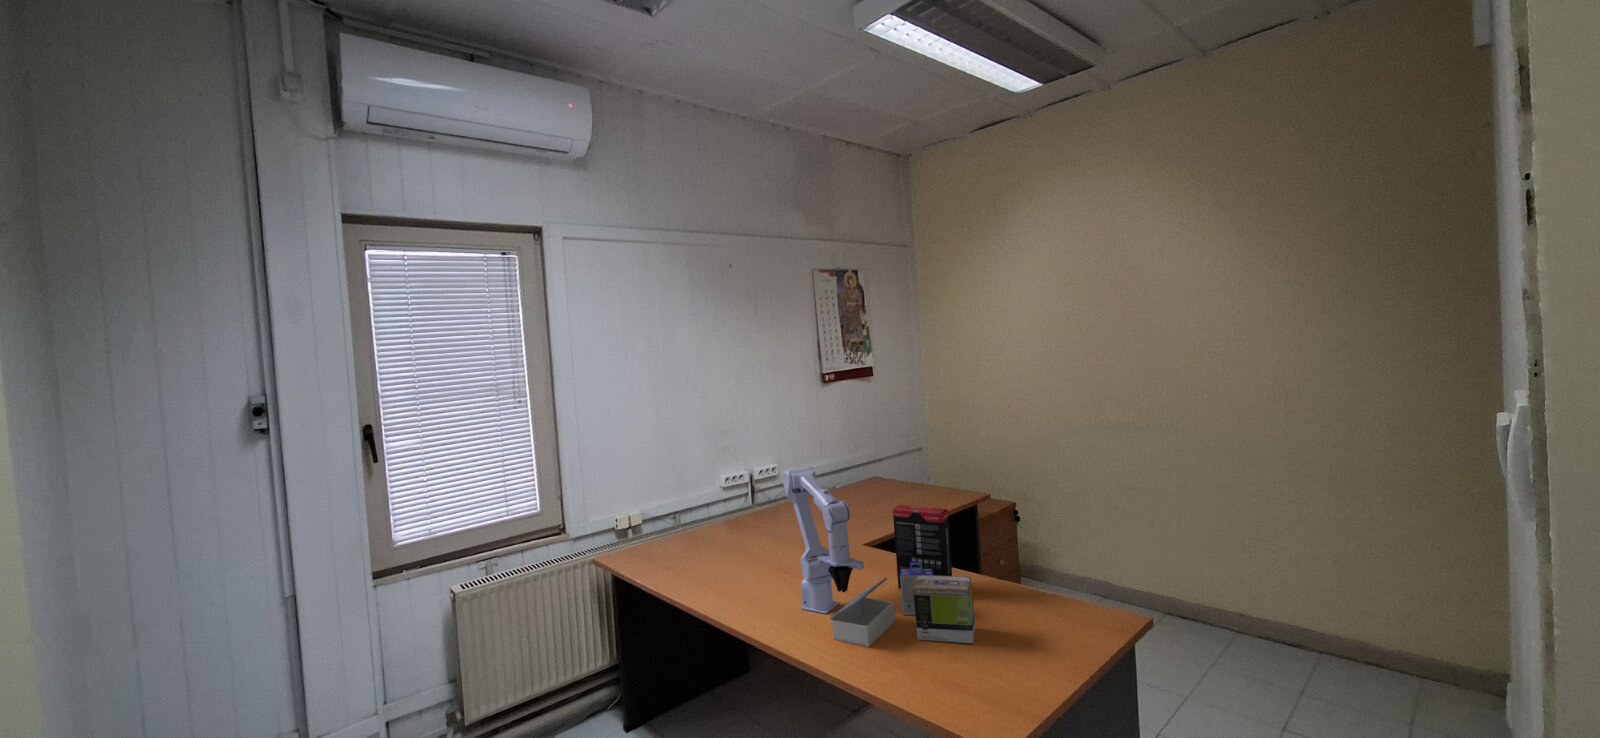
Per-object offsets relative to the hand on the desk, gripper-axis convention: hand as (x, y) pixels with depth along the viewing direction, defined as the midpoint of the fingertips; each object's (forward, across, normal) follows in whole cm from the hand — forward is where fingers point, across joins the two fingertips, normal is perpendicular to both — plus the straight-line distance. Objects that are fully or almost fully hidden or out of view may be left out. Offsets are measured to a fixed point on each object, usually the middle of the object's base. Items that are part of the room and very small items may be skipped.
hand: (842, 590), depth 175 cm
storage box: (+10, +6, 0) cm, 12 cm away
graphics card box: (+11, +12, +32) cm, 36 cm away
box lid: (+2, +6, 0) cm, 6 cm away
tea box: (+11, +28, +7) cm, 31 cm away
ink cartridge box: (+11, +16, +17) cm, 26 cm away
